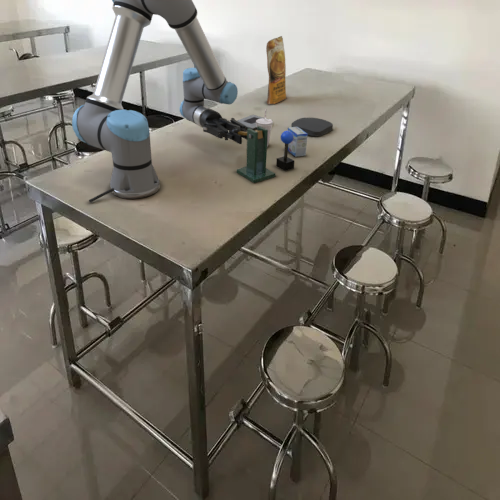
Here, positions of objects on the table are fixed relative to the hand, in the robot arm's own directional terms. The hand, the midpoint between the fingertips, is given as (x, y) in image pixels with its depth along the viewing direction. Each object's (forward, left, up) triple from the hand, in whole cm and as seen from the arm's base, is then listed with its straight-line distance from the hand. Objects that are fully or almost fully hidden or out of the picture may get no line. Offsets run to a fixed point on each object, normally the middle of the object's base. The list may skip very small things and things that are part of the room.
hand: (246, 138), depth 162 cm
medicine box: (+24, +1, -11) cm, 26 cm away
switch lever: (0, 0, 0) cm, 0 cm away
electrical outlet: (+28, +33, -11) cm, 45 cm away
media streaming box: (+46, +16, -11) cm, 50 cm away
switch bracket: (0, -6, -11) cm, 12 cm away
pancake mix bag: (+59, +56, -11) cm, 82 cm away
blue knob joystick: (+12, -7, -11) cm, 17 cm away
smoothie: (+18, +13, -11) cm, 25 cm away
